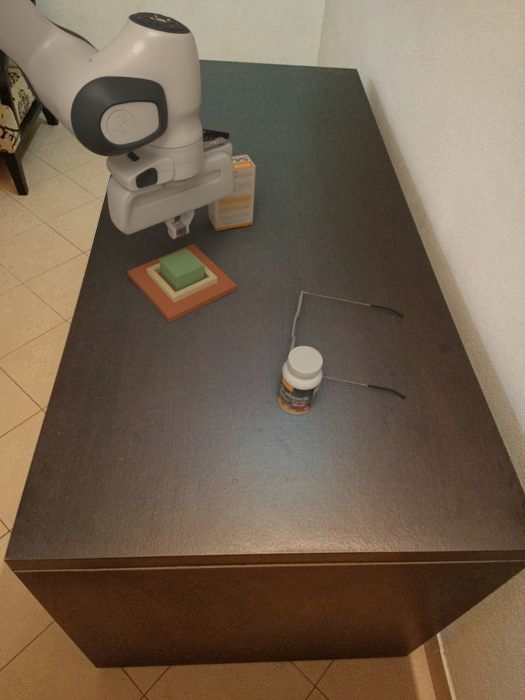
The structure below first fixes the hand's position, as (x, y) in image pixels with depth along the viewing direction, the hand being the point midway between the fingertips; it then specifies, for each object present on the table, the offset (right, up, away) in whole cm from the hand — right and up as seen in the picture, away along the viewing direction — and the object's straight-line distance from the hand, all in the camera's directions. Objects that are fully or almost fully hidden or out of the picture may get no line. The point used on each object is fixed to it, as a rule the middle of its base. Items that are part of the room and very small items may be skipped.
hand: (178, 234), depth 76 cm
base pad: (-1, -7, +8) cm, 11 cm away
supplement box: (+7, +8, +21) cm, 23 cm away
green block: (-1, -6, +7) cm, 9 cm away
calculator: (-2, +33, +41) cm, 53 cm away
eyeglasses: (+28, -18, +2) cm, 33 cm away
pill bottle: (+19, -26, -6) cm, 33 cm away
